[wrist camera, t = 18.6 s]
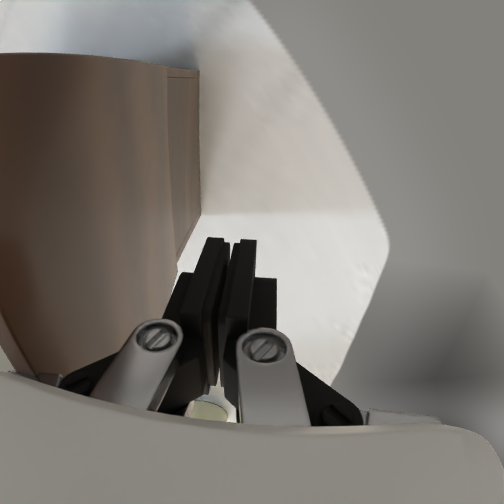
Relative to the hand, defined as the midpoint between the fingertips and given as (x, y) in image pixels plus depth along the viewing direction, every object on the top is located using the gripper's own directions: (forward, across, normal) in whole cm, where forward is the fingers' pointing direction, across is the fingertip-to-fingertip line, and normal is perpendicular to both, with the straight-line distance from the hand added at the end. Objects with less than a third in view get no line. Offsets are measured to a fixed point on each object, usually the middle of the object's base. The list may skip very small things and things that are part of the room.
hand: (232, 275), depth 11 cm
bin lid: (+3, +6, 0) cm, 6 cm away
